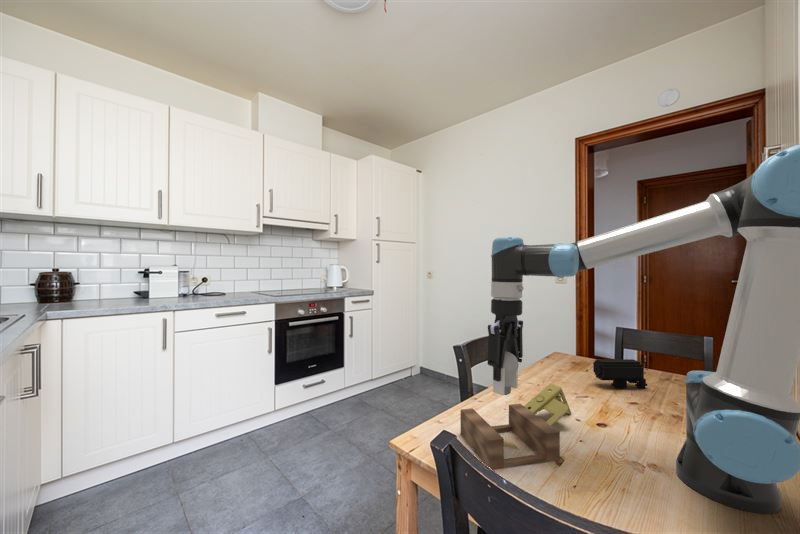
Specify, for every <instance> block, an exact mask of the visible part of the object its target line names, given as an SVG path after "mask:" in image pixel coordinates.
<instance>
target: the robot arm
mask: <svg viewBox="0 0 800 534" xmlns="http://www.w3.org/2000/svg"><path fill="white" fill-rule="evenodd" d="M739 235H741V236H742V237H743V238H744V239H745V240H746V245H745V250H744V254H743V258H742V263H741V267H740V272H739V275H738V278H737V284H736V287H735V292H734V296H733V299H732V300H733V301H732V305H731V309H730V313H729V317H728V321H727V325H726V329H725V330H726V331H725V335H724V338H723V342H722V346H721V351H720V356H719V359H718V363H717V367H716V371H707V370H691V371H690V370H689V371H688V372H687V373H686V380H685V382H684V385H686V389H685V391H686V393H685V394H686V395H685V396H686V398H685V400H686V405H685V406H686V413H685V414H686V421H685V422H686V424H685V425H686V429H685V430H686V436H685V437H686V438H685V440H684V442H683V444H682V447H681V449H680V451H679V453H678V455H677V457H676V460H675V473H676V476H678V478H679V479H680V480H681V482H683V483H684V484H685V485H687V486H688V487H689V488H691V489H692V490H693V491H696V492H697V493H698V494H701V495H703V496H705V497H707V498H709V499H711V500H713V501H715V502H717V503H720V504H722V505H725V506H729V507H730V508H734V509H736V510H737V509H738V510H742V511H744V512H745V511H746V512H749V513H757V514H774V513H778V512H780V511H781V509H782V494H781V491H780V488H779V487H778V484H777V483H783V482H786V481H788V480H790V479H792V478H794V477H795V476H796V475H797V474H798V473H799V472H800V443H799V441H797V439H796V437H797V436H796V435H797V432H798V428H799V426H800V425H799V424H800V403H799V402H797V400H796V399H795V398H794V397H793V396H792V394H791V393H792V390H793V389H792V388H793V386H794V382H795V378H796V374H797V370H798V366H799V362H800V143H799V144H795V145H793V146H790V147H788V148H785V149H784V150H783V149H782V150H780V152H776V153H775V154H773V155H772V156H770V157H767V158H766V159H765V160H764V161H763V162H761V163H760V165H758V166H757V168H756V170H755V171H754V172H753V173H752V174H751V175H749V176H748V177H747V178H745V179H744V180H742V181H740V182H738V183H737V184H735V185H732V186H729V187H727V188H725V189H723V190H719V191H717V192H713V193H710V194H709V196H708V197H707V198H706V200H704V201H701V202H698V203H695V204H692V205H688V206H686V207H683V208H679V209H676V210H673V211H669V212H667V213H664V214H661V215H658V216H654V217H652V218H647V219H644V220H641V221H637V222H635V223H632V224H629V225H626V226H623V227H619V228H616V229H612V230H610V231H606V232H604V233H600V234H598V235H594V236H591V237H588V238H587V237H586V238H584V239H581V240H577V241H575V242H572V243H571V242H570V243H554V244H553V243H552V244H551V243H549V244H548V243H547V244H533V245H532V244H525V243H524V240H523V237H517V236H504V237H503V236H502V237H497V238H495V239H494V240H492V243H491V245H492V246H491V255H490V258H491V290H490V296H491V298H492V299H491V301H490V312H491V313H492V314H493V315H495V319H494V324H488V325H487V332H488V339H487V340H488V341H487V342H488V343H487V345H488V346H487V365H488V366H490V367H492V379H493V380H492V392H493V393H495V394H499V395H501V396H506V395H505V368H503V362H504V356H505V351H507V352H510V353H512V354H513V355H514V356H515V357H516V358H517V360H518V363H523V359H522V358H523V356H524V355H523V354H524V352H523V351H524V350H523V344H524V343H523V328H524V321H523V320H519V319H518V316H521V315H523V300H521V299H522V297H523V290H524V286H523V280H524V279H523V278H524V277H523V276H526V277H529V276H532V277H534V276H535V277H557V278H565V277H575V276H576V275H577V274H578V273H579V272H582V271H586V270H589V269H592V268H597V267H600V266H605V265H609V264H612V263H616V262H620V261H623V260H628V259H631V258H636V257H639V256H643V255H646V254H647V255H648V254H651V253H654V252H659V251H662V250H665V249H669V248H674V247H677V246H681V245H685V244H686V245H687V244H689V243H693V242H696V241H701V240H704V239H708V238H712V237H715V236H724V237H726V238H732V237H735V236H739ZM518 372H519V369H518V370H517V372H516V373H515V375H514V377H513V380H512V385H511V389H512V388H513V389H518V385H519V383H518V381H519V379H518V377H519V376H518V374H519V373H518Z"/></svg>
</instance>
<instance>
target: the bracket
mask: <svg viewBox="0 0 800 534" xmlns="http://www.w3.org/2000/svg"><path fill="white" fill-rule="evenodd" d="M523 406H524V407H525V408H527V409H528V410H530V411H531V412H532V413H534V414H535V415H537V413H538V412H542V411H543V410H545V411H547V412H548V413H550V414H551V415H552V416H551V417H550V418H549V419H547V420H545V422H547V423H548V424H549V425H551V426H552V427H553V425H555V423H557V422H558V421H559V420H560V419H562V417H563V416H565V415H566V414H568V415H572V411H571V408H570V406H569V404H568V401H567V399H566V396H565V393H564V391H563V388H561V386H559V385H555V383H548V385H547V386H545V388H543V389H542V390H540V392H538V393H537V394H536V395H535V396H534V397H532V398H531V399H530V400H529V401H528V402H526V404H524V405H523Z"/></svg>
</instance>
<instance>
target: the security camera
mask: <svg viewBox="0 0 800 534" xmlns="http://www.w3.org/2000/svg"><path fill="white" fill-rule="evenodd" d="M592 362H593V363H592V365H593V369H592V370H593V373H594V375H595V377H596V378H597V379H599V380H601V381H612V383H610V386H611V387H613V388H614V389H627V388H628V384H634V386H635V387H636V388H638V389H646V387H648V383H647V380H646V378H645V373H644V372H645V371H644V369H645V368H644V367H643V364H641V361H638V360H636V359H633V358H632V359H628V358H625V359H622V358H621V359H619V358H618V359H617V358H616V359H615V358H613V359H611V358H610V359H608V358H605V359H604V358H602V359H601V358H599V359H598V358H596V359H595V360H594V361H592Z"/></svg>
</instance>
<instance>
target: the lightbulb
mask: <svg viewBox="0 0 800 534" xmlns="http://www.w3.org/2000/svg"><path fill="white" fill-rule="evenodd" d="M503 368H505V395H504V396H508V395H510V394H511V391H512V387H511V385H512V380H513V377H514V375H515V373H516V372H517V370H518V371H519V362H518V360H517V358H516V357H515V356H514V355H513V354H512V353H510V352H508V351H507V350H505V356H504V362H503Z"/></svg>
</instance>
